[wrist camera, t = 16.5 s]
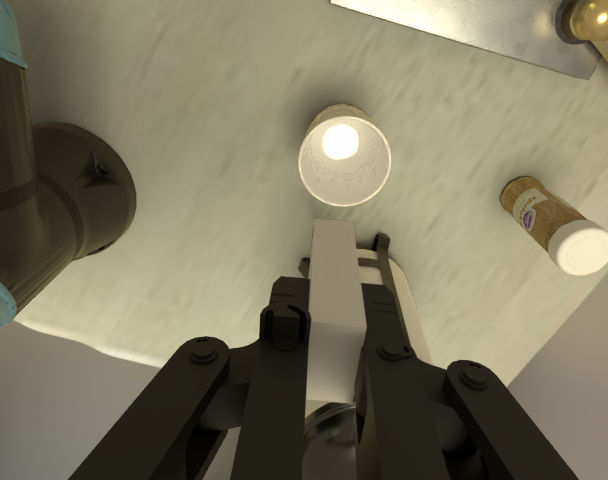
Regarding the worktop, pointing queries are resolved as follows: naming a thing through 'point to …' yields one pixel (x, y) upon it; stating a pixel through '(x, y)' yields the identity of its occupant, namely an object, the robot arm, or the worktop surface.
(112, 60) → the worktop surface
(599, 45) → the lever
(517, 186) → the sprinkles bottle
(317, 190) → the white cup
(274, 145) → the worktop surface
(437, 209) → the worktop surface
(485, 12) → the base
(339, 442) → the coffee press
